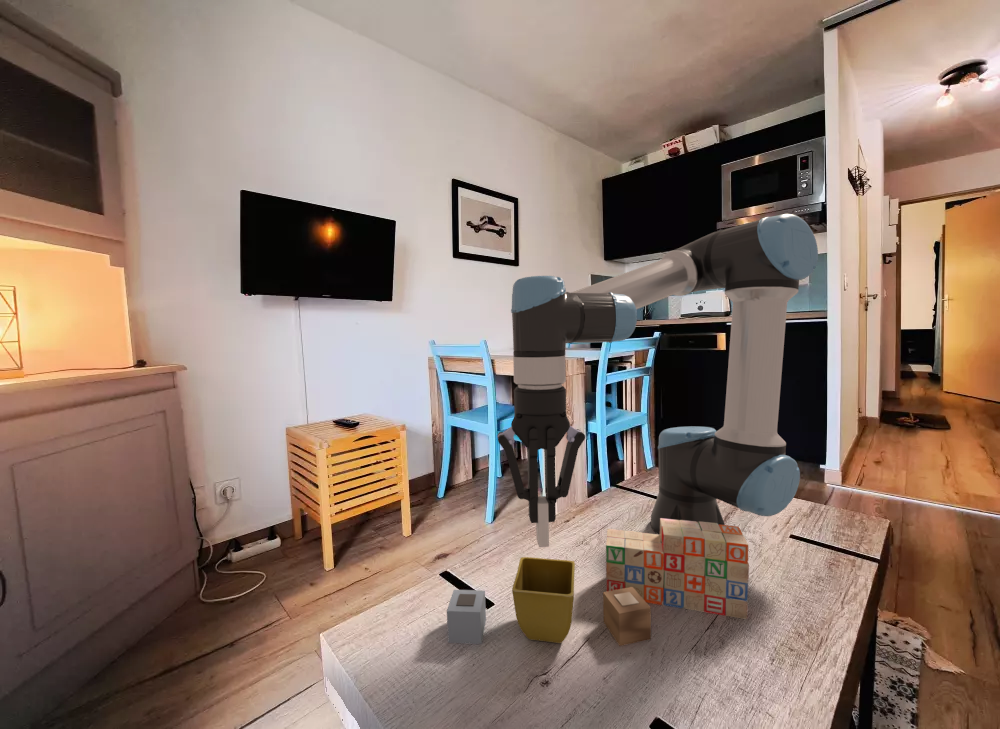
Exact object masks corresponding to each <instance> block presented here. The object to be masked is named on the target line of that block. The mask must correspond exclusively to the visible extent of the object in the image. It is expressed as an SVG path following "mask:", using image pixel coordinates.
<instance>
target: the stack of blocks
mask: <svg viewBox="0 0 1000 729" xmlns="http://www.w3.org/2000/svg"><path fill="white" fill-rule="evenodd" d="M605 562H606V565H605V568H606V571H605V572H606V573H605V576H606V577H605V578H606V585H605V586H606V587H605V588H606V590H605V592H607V591H612V590H618V589H623V588H629V587H633V588H634V589H635V590H636V591H637V593H638V594H639V595H640V596H641V597H642V598H643V599H644V600H645V602H646V603H647V604H653V605H659V606H667V607H673V608H680V609H684V610H685V609H686V610H692V611H697V612H702V613H708V614H713V615H719V616H726V617H731V618H737V619H743V620H747V619H748V596H749V595H748V593H749V579H750V576H749V575H750V574H749V573H750V564H749V543H748V542H747V539H746V537H745V536H744V534H743V532H742V530H741V528H740V527H739V526H738V525H729V524H728V525H727V524H725V525H720V524H719V525H718V524H717V523H710V522H700V521H699V522H696V521H686V520H674V519H664V518H660V535H658V534H657V533H648V532H641V531H631V530H621V529H615V528H607V530H606V542H605Z"/></svg>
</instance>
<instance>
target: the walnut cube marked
mask: <svg viewBox="0 0 1000 729" xmlns="http://www.w3.org/2000/svg"><path fill="white" fill-rule="evenodd" d="M602 603H603V604H602V606H603V608H602V609H603V611H602V612H603V615H602V617H603V623H604V625H605V627H606V628H607V630H608V631H609V633H610V634H611V635H612V637H613V639H614V640H615V642H616V643H617V645H618V646H619V647H621V646H627V645H631V644H636V643H641V642H646V641H650V640H651V639H652V625H651V624H652V620H651V619H652V618H651V617H652V615H651V614H652V610H651V609H652V608H651V606H650V605H649V603H647V602H645V600H644V599H643V598H642V597H641V596H640V595H639V594H638V593H637V591H636V590H635V589H634V588H633V587H629V588H623V589H618V590H612V591H607V592H606V591H603V593H602Z"/></svg>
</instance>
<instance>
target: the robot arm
mask: <svg viewBox="0 0 1000 729" xmlns="http://www.w3.org/2000/svg"><path fill="white" fill-rule="evenodd" d="M818 249H819V248H818V243H817V239H816V236H815V234H814V232H813V230H812V229H811V227H810V226H809V224H808V223H807V222H806V221H805V220H804V219H803V218H802V217H800V216H798V215H797V214H791V213H784V214H783V213H782V214H779V215H774V216H765V217H762V218H761V219H757V220H754V221H751V222H747V223H744V224H739V225H736V226H732V227H729V228H726V229H720V230H718V231H714V232H711V233H709V234H707V235H705V236H702V237H700V238H698V239H695V240H693V241H691V242H689V243H687V244H685V245H683V246H681V247H679V248H675V249H674V250H670V251H668V252H666V253H665V254H664V255H663V256H662V258H660V260H658V261H654V262H652V263H648V264H646V265H643V266H639V267H637V268H636V269H632V270H629V271H627V272H624V273H621V274H618V275H616V276H613V277H609V278H608V279H604V280H603V281H599V282H596V283H594V284H591V285H588V286H586V287H583V288H580V289H578V290H574V291H571V292H569V291H567V290H566V285H565V281H564V278H562V277H560V276H554V275H534V276H533V275H532V276H525V277H521V278H519V279H517V280H516V281H515V282H514V283H513V284H512V293H511V309H510V313H511V320H512V342H513V343H512V346H513V348H512V349H513V353H512V354H513V360H512V361H513V362H512V363H513V383H514V384H515V385H517V386H516V387H515V388H514V390H513V398H514V399H513V402H514V403H513V404H514V410H513V411H514V416H513V419H512V421H511V424H510V427H508V428H507V429H505V430H504V431H500V432H498V433H497V437H496V438H497V441H498V443H499V445H500V447H501V448H502V449H503V450H504V452H505V455H506V459H507V462H508V466H509V469H510V474H511V477H512V481H513V484H514V488H515V491H516V495H517V498H518V499H519V500H525V501H526V500H527V502H528V518H529V521H530V523H531V524H535V525H536V528H535V530H536V535H535V536H536V541H537V545H538V548H549V547H550V532H549V531H550V526H549V525H550V523H555V521H556V519H557V518H556V517H557V515H556V504H557V501H558V499H560V498H567V497H568V495H569V491H570V486H571V483H572V479H573V475H574V474H573V473H574V470H575V467H576V466H575V465H576V460H577V456H578V453H579V449H580V447H581V445H582V444H583V442H584V441H585V439H586V434H584V432H583V431H581V430H580V429H578V428H575V427H574V426H571V422H570V420H569V419H568V416H567V389H566V388H565V386H564V385H563V384H565V383H566V381H567V378H566V377H567V376H566V373H567V372H566V369H567V366H566V345H567V344H572V343H575V344H576V343H577V344H578V343H580V344H581V343H585V344H587V343H609V344H611V343H614V342H621V341H626V340H627V339H629V338H630V337H631V336H632V334H633V333H634V332H635V329H636V326H637V322H638V321H637V320H638V319H637V318H638V316H637V315H638V312H637V310H638V309H641V308H643V307H647V306H648V305H651V304H653V303H655V302H658V301H660V300H663V299H666V298H669V297H671V296H673V295H674V296H677V297H682V296H686V295H688V294H691V293H695V292H699V291H700V292H701V291H708V290H710V291H711V290H717V289H718V290H719V289H724V295H725V296H726V297H727V298H728V299H729V300H730V301H731V302H732V312H731V323H730V337H729V340H730V341H729V351H728V368H727V376H726V377H727V378H726V379H727V380H726V394H725V406H724V417H723V418H724V419H723V420H724V421H723V426H722V427H721V428H719V429H718V430H716V429H715V428H714V427H710V426H692V425H691V426H677V427H670V428H666V429H663V430H662V431H661V432H660V433H659V436H658V446H657V460H658V461H657V462H658V463H657V464H658V495H657V497H656V500H655V503H654V505H653V509H652V511H651V514H650V527H651V529H652V530H653V532H654V534H658V535H660V518H664V519H674V520H686V521H696V522H699V521H700V522H710V523H717V524H718V525H719V524H720V525H726V524H725V521H724V518H723V514H722V513H721V510H720V506H719V504H718V501H722V502H723V503H726V504H727V505H728V504H729V505H731V506H733V507H736V508H738V509H739V510H740V511H743V512H746V513H747V512H748V513H751V514H754V515H757V516H760V517H772V516H773V517H774V516H776V515H778V514H779V513H781V512H782V511H784V510H785V509H786V508H787V507H788V505H789V504H790V503H792V501H793V499H794V497H795V495H796V494H797V491H798V489H799V484H800V481H801V471H800V468H799V466H798V463H797V461H796V460H795V459H794V458H792V457H791V456H789V455H786V451H787V450H786V448H787V442H786V441H785V440H784V439H783V438H782V436H780V435H779V434H778V422H779V412H780V411H779V410H780V397H781V388H782V387H781V385H782V375H783V374H782V372H783V360H784V359H783V358H784V348H785V346H784V345H785V336H786V335H785V334H786V324H787V312H788V311H787V309H788V302H789V301H790V300H791V299H792V298H793V297H794V296H796V295H797V294H799V289H800V288H799V287H800V281H802V280H804V279H805V280H806V278H808V277H810V276H811V275H812V274H813V273H814V272H815V271H814V270H815V269H816V267H817V266H818V265H817V264H818V262H819V261H818V259H819V250H818ZM515 435H516V437H517V438H518V440H520V442H521V443H522V444H523V445H524V447H525V448H526V453H527V454H526V455H527V457H526V458H527V487H525V486H524V483H523V478H522V476H521V472H520V469H519V464H518V461H517V457H516V454H515V450H514V446H513V445H514V444H515ZM565 436H566V440H567V443H566V444H565V449H564V454H563V459H562V463H561V467H560V472H559V475H558V476H559V477H558V481H557V480H556V476H557V475H556V456H557V455H556V449H557V448H556V447H558V445H559V444H560V442H561V441H562V439H563V438H564V437H565ZM541 449H542V450H543V453H544V456H543V457H544V493H545V495H544V496H543V495H541V496H539V474H538V472H539V471H538V469H539V468H538V466H539V464H538V462H539V460H538V458H539V450H541ZM556 481H557V484H556ZM717 500H718V501H717Z"/></svg>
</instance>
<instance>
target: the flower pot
mask: <svg viewBox="0 0 1000 729" xmlns="http://www.w3.org/2000/svg"><path fill="white" fill-rule="evenodd" d="M575 570H576V563H575V561H574V560H567V559H555V558H542V557H529V556H524V557H523V556H522V557H520V558H519V562H518V566H517V572H516V575H515V578H514V581H513V585H512V588H511V593H512V598H513V605H514V611H515V618H516V621H517V625H518V626H519V629H520V630H521V631H522V633H523V635H524V636H525V637H526V638H527V639H528V640H530V641H531V640H532V641H537V642H538V641H539V642H547V643H554V644H555V643H556V644H562V643H563V642H565V640H566V638H567V637H568V635H569V633H570V630H571V626H572V620H573V610H574V609H573V608H574V600H575V597H574V596H575V572H576V571H575Z"/></svg>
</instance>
